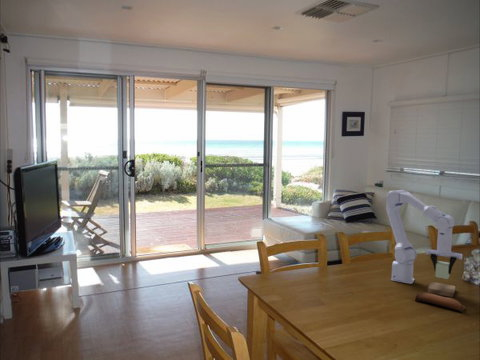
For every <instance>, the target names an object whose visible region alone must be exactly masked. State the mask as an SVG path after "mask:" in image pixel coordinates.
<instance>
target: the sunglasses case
mask: <svg viewBox="0 0 480 360" xmlns="http://www.w3.org/2000/svg"><path fill="white" fill-rule="evenodd" d="M414 301H415V302H416V301H417V302H420V303H422V302H423V303H427V304H433V305H436V306H439V307H444V308H447V309H451V310H454V311H457V312H460V313H463V311H464V310H465V309H466V306H464V304H461V302H460V301H458V300H456V299H455V298H453V297H447V296H446V297H445V296H444V295H439V294H434V293H428V292H418V293H416V294H415V299H414Z"/></svg>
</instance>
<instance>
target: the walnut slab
mask: <svg viewBox="0 0 480 360" xmlns="http://www.w3.org/2000/svg"><path fill="white" fill-rule="evenodd" d="M427 293H431V294H434V295H438V296H443V297H445V296H446V297H448V298H453V297H454V295H455V293H456V286H455V285H451V284H445V283H440V282H434V281H431V282H430V284H429V285H428V287H427Z"/></svg>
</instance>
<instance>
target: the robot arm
mask: <svg viewBox="0 0 480 360" xmlns="http://www.w3.org/2000/svg"><path fill="white" fill-rule="evenodd" d="M385 200H386V205H385V211H386V214H387V217H388V220H389V224H390V227H391V230H392V234H393V238H394V241H395V243H396V244H395V245H394V257H395V260H393V261H392V264H391V278H390V280H391V281H392V282H393V281H394V282H399V283H405V284H409V285H410V284H413V283H414V281H415V278H414V262H415V260H416V258H417V257H418V256H417V255H418V254H417V251H416V249H415V248H414V247H413V244H412V243H411V242H410V241H409V240H408V237H407V234H406V231H405V228H404V224H403V220H402V217H401V214H400V212H399V210H400V209H401V207H402V206H403V205H404V204H409V205H411V207H414V208H416V209H417V210H419V211H421V212H422V215H423V216H424V217H425V218H427V219H428V220H430V221H431V222H433V223H434V224H435V226H436V227H437V242H436V249H427V248H426V249H425V255H429V257H430V260H431V261H432V265H433V269H434V270H433V271H434V272H436V263H437V262H438V258H439V257H438V256H440V257H445V258H449V263H450V265H449V275H451V274H452V269H453V267H454V264H455V262H456V261H457V260H463V253H458V252H454V251H452V244H453V243H452V240H453V239H452V238H453V228H454V226H455V225H456V220H455V218H454V217H453V216H452V215H451V214H446V213H445V212H444V211H443V212H442V211H441V210H439V209H437V206H435V205H426V203H424V202H422V201H421V200H420V199H418V198H417V197H415V196H414V195H413V194H412V193H411V192H409V191H407V190H406V189H397V190H390V191H388V193H387V194H386V196H385Z"/></svg>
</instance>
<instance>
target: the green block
mask: <svg viewBox="0 0 480 360" xmlns="http://www.w3.org/2000/svg"><path fill="white" fill-rule="evenodd" d="M449 265H450V262H446V261H439V260H437V263H436V272H435V271H434V272H435V276H434V277H435V278H440V279H444V280H448V279H449V278H450V274H449Z"/></svg>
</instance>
